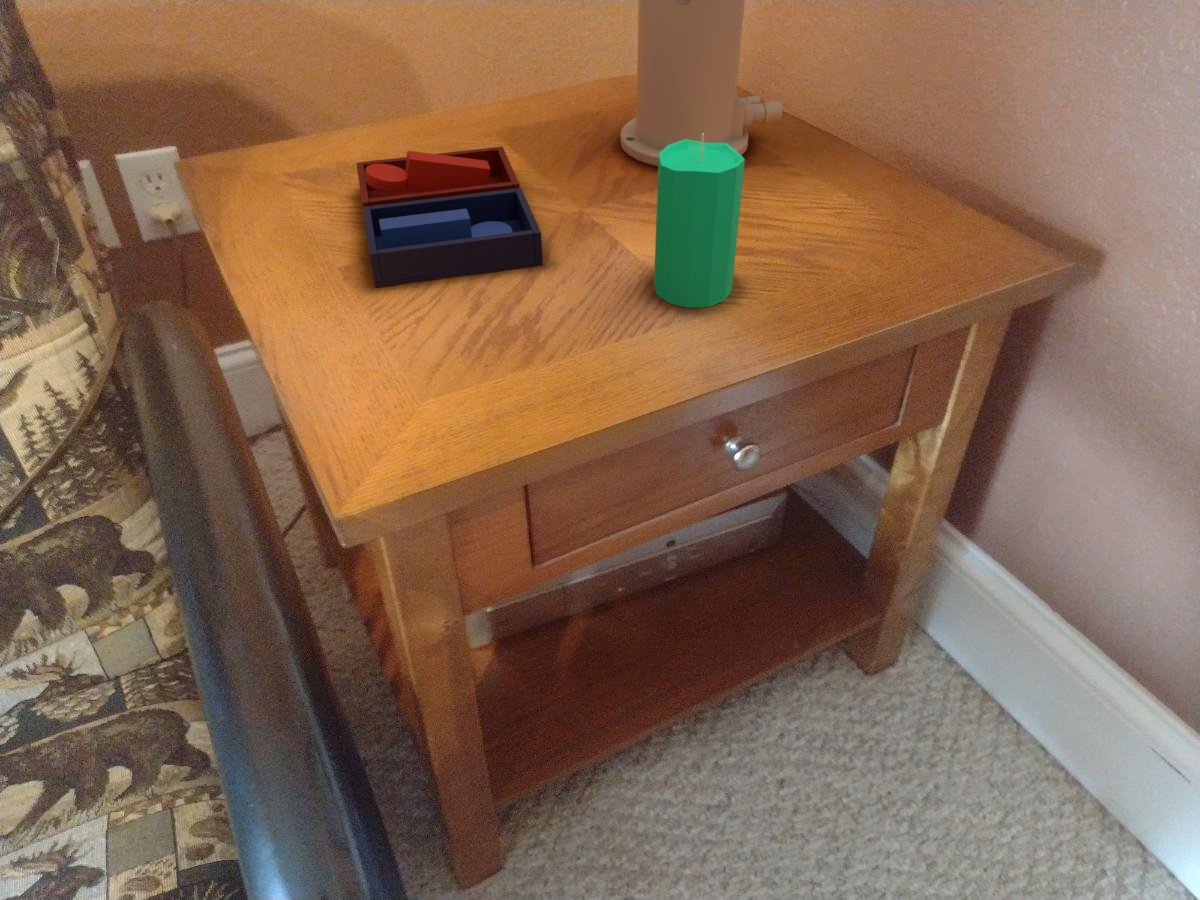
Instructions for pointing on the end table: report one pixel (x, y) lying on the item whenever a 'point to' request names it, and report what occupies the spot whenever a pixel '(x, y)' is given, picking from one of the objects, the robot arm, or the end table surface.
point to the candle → (697, 222)
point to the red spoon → (428, 173)
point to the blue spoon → (435, 228)
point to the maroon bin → (498, 180)
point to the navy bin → (460, 253)
